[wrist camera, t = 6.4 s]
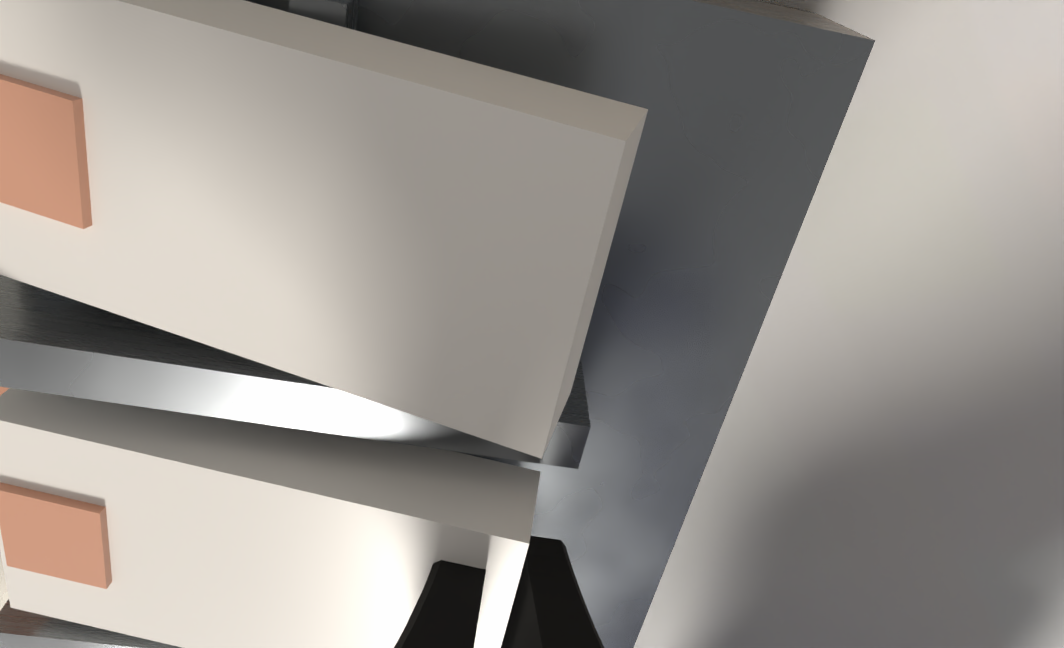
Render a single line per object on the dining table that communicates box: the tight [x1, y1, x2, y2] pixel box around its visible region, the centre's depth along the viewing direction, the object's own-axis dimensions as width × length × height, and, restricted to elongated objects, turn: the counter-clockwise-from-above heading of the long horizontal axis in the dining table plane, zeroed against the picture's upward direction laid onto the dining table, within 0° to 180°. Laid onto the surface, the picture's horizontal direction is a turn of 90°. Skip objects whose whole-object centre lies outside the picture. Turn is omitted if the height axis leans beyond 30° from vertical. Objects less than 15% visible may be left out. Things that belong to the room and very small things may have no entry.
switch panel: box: [0, 0, 875, 648], centre depth 15 cm, size 15×18×5 cm
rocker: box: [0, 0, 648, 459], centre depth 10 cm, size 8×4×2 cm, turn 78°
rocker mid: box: [0, 388, 541, 648], centre depth 13 cm, size 8×4×2 cm, turn 79°
